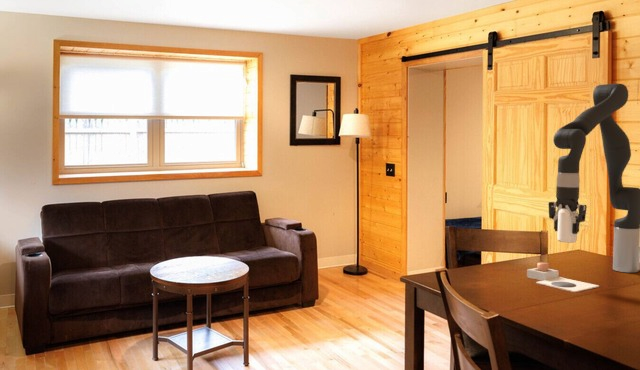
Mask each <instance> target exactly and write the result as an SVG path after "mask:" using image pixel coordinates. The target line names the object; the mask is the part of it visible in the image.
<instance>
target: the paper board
mask: <svg viewBox="0 0 640 370" xmlns="http://www.w3.org/2000/svg"><path fill="white" fill-rule="evenodd" d="M535 284H537V285H542V286H547V287H551V288H556V289H559V290H562V291H568V292H572V293H579V292H583V291H586V290H591V289H595V288H599V287H600V285H599V284H593V283H589V282H585V281H584V282H583V281H580V280H575V279H570V278H565V277H562V276H559V277H558V278H554V279H549V280H544V281H541V280H538V281H536V282H535Z"/></svg>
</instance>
